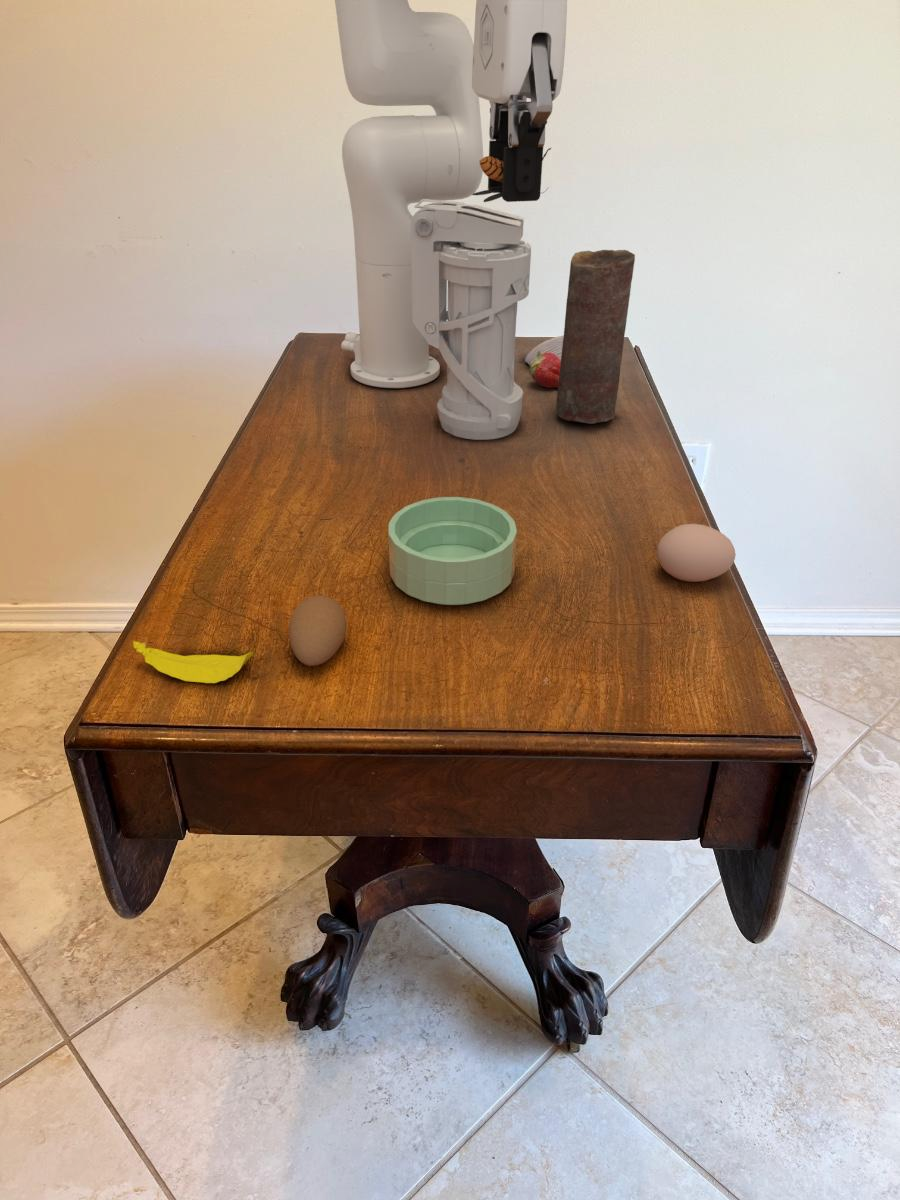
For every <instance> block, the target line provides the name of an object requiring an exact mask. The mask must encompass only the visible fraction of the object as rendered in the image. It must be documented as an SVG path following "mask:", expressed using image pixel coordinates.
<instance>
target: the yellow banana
mask: <svg viewBox="0 0 900 1200" xmlns="http://www.w3.org/2000/svg"><path fill="white" fill-rule="evenodd" d="M132 643H133V645H132V646H133V648H134V649H135V651H136V652H137V653H139V654H140V653H141V654H142V656H143V659H144V662H145V663H146V664H148V665H151V667H153V668H154V669H156V670H157V671H158V672H160V673H162V674H165V675H167V676H170V677H172V678H176V679H178V680H181V681H184V682H195V683H202V684H203V683H204V684H217V683H219V682H224V681H226V680H228V679H229V678H232V677H233V676H234V675H235V674H237V673H238V672H239V671H241V669H242V668H243V666H244V665H245V664H246V663H247V662H248V660H250V659H251V658H252V656H253V655H254V654H255V651H249V652H247V653H245V654H242V655H239V656H237V655H226V654H225V655H224V654H223V655H222V654H191V655H181V654H178V653H171V652H168V651H164V650H161V649H158V648H152V647H147V643H146V642H140V641H136V640H133V641H132Z"/></svg>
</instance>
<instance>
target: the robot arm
mask: <svg viewBox="0 0 900 1200" xmlns="http://www.w3.org/2000/svg"><path fill="white" fill-rule="evenodd" d="M334 3H335V12H336V22H337V29H338V30H337V31H338V36H339V45H340V52H341V61H342V67H343V73H344V78H345V83H346V86H347V89H348V92H349V93H350V95H351V97H352V98H353V99H354V100H355V101H357V102H358V103H361V104H363V105H367V106H376V107H402V106H405V107H406V106H407V107H408V106H430V107H431V108H433V110H434V112H435V114H434V115H414V114H410V115H409V114H407V115H380V116H379V115H378V116H372V117H371V116H370V117H368V118H363V119H361V120H359V121H357V122H355V123H354V124H352V125H351V126H350V127H349V128H348V129H347V130H346V132H345V134H344V136H343V140H342V144H341V158H342V165H343V171H344V176H345V181H346V186H347V190H348V197H349V202H350V208H351V209H350V210H351V217H352V227H353V241H354V256H355V275H356V291H357V311H358V329H359V333H355V332H351V331H349V332H347V333H345V336H344V340H343V341H341V346H340V347H341V349H342V351H346V352H351V353H354V361H352V363H351V364H350V375H351V377H352V378H353V379H354V380H355V381H357V382H359V383H361V384H364V385H367V386H370V387H375V388H382V389H406V388H413V387H419V386H423V385H425V384H428V383H430V382H432V381H434V380H436V378H439V377H438V376H439V375H440V373H441V367H440V363H439V361H438V360H437V359H436V358H434V357H432V356H430V344H429V343H428V342H427V341H426V339H425V338H424V337H423V335H422V334H421V333H420V331H419V330H418V329H417V328H416V326H415V324H414V323H413V321H412V269H411V218H412V217H413V216H414V215H412V213H411V212H410V210H409V207H408V206H409V205H410V204H417V203H419V202H420V201H421V200H422V199H430V200H440V201H457V200H463V199H467V198H470V197H471V196H473V195H472V194H474V193H477V192H478V191H477V190H478V189H479V188H480V185H481V182H482V179H483V174H484V172H483V170H482V168H481V166H480V163H479V161H480V160H481V159H483V158H484V143H483V131H482V120H481V119H482V118H481V107H480V105H481V104H480V98H481V99H484V100H486V101H488V103H489V104H490V107H489V114H490V116H489V131H488V135H489V139H490V140H489V142H488V156H491V157H493V158H497V159H498V160H500V161H503V182H500V181H496V180H493V179H491V178H489V177H488V176H487V190H490V189H488V188H490V187H498V186H502V190H501V191H498V192H494V193H493V194H498V193H501V192H502V197H501V198H502V200H503V201H505V202H507V203H514V202H515V203H516V202H536V201H539V200H540V198H541V189H542V188H541V187H542V176H543V175H542V172H543V161H542V159H543V156H544V146H545V142H546V125H547V124H548V120H549V118H550V116H551V115H552V112H553V107H554V106H553V101H555V100H556V99H557V98H558V97H559V95H560V93H561V91H562V84H563V78H564V77H563V76H564V67H565V66H564V65H565V57H566V37H567V17H568V16H567V14H568V12H567V11H568V0H476V1H475V13H474V14H475V16H474V31H473V32H474V33H473V37H472V35H471V33H470V31H469V28H468V27H467V25H466V24H465V22H464V21H463V20H462V19H461V18H460V17H459V16H457V15H455V14H452V13H448V12H440V11H415V10H413V9H412V8H411V6H410V4H409V0H334ZM527 99H529V100H530V101H527ZM543 160H544V159H543ZM495 189H496V188H495ZM424 202H425V201H423V202H422V203H424Z"/></svg>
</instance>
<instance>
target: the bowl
mask: <svg viewBox="0 0 900 1200" xmlns="http://www.w3.org/2000/svg"><path fill="white" fill-rule="evenodd" d="M387 530H388V531H387V536H388V558H389V559H388V560H389V561H388V562H389V576H390V578H391V579H392V581H393V583H394V584H395V586H396V587H397V588H398V589H399V590H401V591H402V592H403V593H405V594H406V595H407V596H409V597H411V598H415V599H417V600H420V601H422V602H427V603H431V604H436V605H441V606H442V605H443V606H463V605H470V604H474V603H478V602H479V603H480V602H483V601H486V600H489V599H490V598H492V597H495V596H497V595H499V594H501V593H502V592H503V591H504V590H505V589H506V588H508V586H509V585H511V583H512V580H513V578H514V575H515V571H516V570H515V569H516V553H517V540H518V539H517V538H518V530H517V525H516V521H515V520H514V519H513V517H512V516H511V515H510V514H509V512H507V511H506V510H504V509H502V508H500V507H499V506H498V505H495V504H493V503H490V502H487V501H484V500H482V499H481V500H480V499H477V498H469V497H463V496H440V497H432V498H426V499H421V500H419V501H415V502H414V503H411V504H408V505H405V506H404V507H403V508H401V509H399V510H398V511H397V512H395V513H394V515H393V516H392V518H390V520H389V521H388V529H387Z"/></svg>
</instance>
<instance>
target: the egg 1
mask: <svg viewBox="0 0 900 1200" xmlns="http://www.w3.org/2000/svg"><path fill="white" fill-rule="evenodd" d="M347 621H348V620H347V617H346V613H345V611H344V609H343V608H342V605H340V604H339V602H338V601H337V600H335V599H334V598H332V597H330V596H327V595H320V594H318V595H317V594H316V595H312V596H309V597H307V598H305V599H304V600H302V601H301V602H300V603H299V604H298V605H297V606H296V607H295V608H294V609H293V612H292V614H291V616H290V619H289V624H288V639H289V643H290V646H291V649H292V651H293V654H294V656H295V657H296V659H297V660H298V661H299V662H301V663H302V664H304V665H305V666H309V667H316V666H321V665H322V664H325V663H326V662H327V661H328V660H330V659H331V658H332V657H334V655H335V654H336V653H337V652H338V650H339V649H340V648H341V646H342V644H343V643H344V640H345V638H346V634H347V630H348V622H347Z"/></svg>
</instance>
